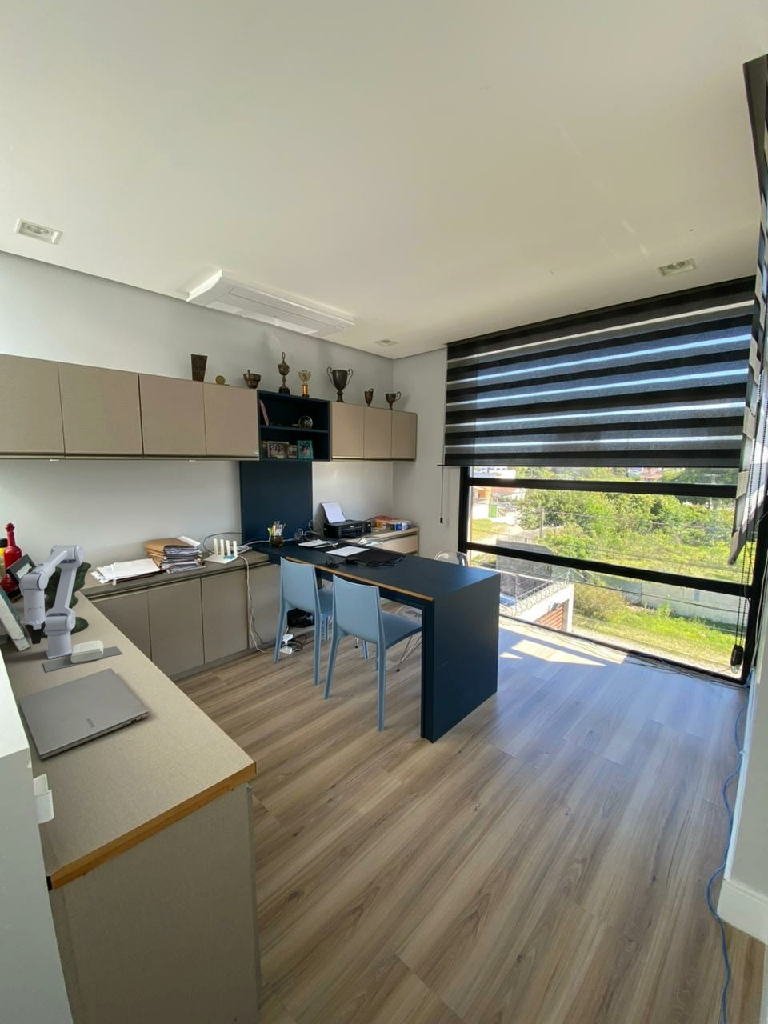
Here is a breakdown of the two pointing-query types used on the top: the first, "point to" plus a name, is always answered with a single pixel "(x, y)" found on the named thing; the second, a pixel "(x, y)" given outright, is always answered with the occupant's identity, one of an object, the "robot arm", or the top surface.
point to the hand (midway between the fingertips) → (36, 643)
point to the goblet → (78, 584)
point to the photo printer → (87, 651)
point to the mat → (68, 663)
